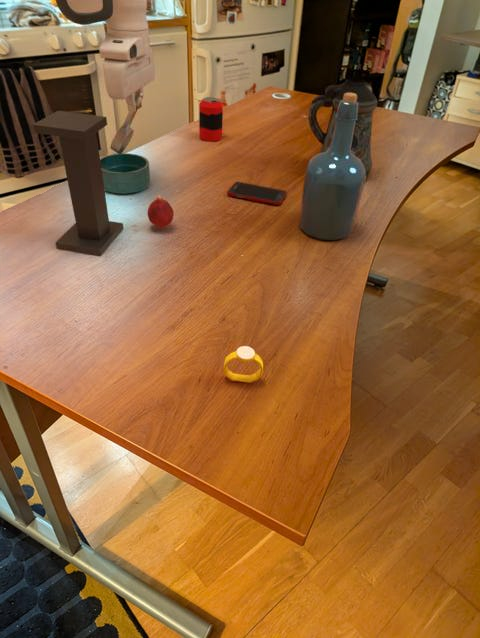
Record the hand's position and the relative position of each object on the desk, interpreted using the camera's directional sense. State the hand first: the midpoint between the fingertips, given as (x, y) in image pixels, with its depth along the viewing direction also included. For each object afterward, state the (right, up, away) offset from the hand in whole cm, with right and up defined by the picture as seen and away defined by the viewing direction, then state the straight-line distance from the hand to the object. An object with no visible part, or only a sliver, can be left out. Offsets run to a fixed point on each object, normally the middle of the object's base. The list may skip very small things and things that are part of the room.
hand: (135, 109), depth 110 cm
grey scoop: (-3, -2, +2) cm, 4 cm away
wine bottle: (+45, -28, +1) cm, 53 cm away
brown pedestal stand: (-8, -32, -8) cm, 34 cm away
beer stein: (+54, -7, +27) cm, 61 cm away
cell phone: (+30, -17, +13) cm, 36 cm away
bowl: (-6, -14, +13) cm, 20 cm away
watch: (+25, -60, -38) cm, 75 cm away
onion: (+7, -29, -3) cm, 30 cm away
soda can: (+15, +10, +44) cm, 48 cm away
